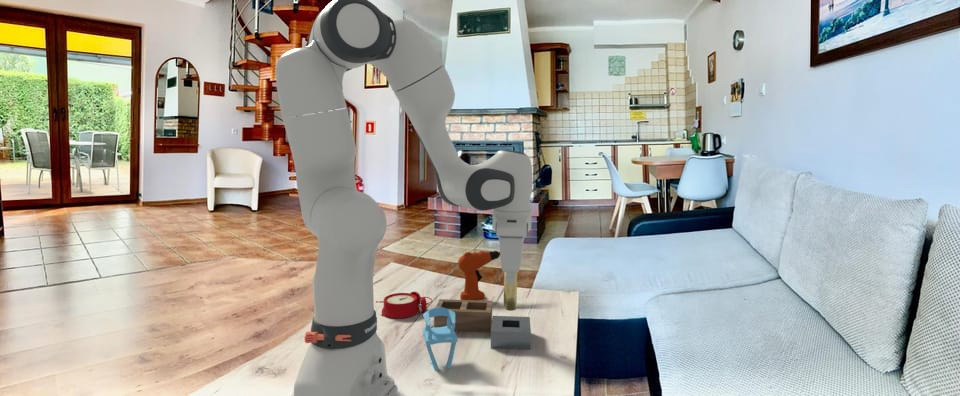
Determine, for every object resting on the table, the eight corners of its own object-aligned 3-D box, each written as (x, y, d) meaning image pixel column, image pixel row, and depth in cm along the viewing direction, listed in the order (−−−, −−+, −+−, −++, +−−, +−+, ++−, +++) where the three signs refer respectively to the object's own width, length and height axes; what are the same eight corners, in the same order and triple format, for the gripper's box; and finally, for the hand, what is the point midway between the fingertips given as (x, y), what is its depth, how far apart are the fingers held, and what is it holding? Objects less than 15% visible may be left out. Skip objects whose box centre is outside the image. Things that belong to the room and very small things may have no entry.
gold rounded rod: (516, 310, 103) (517, 268, 102) (503, 310, 103) (504, 268, 102) (516, 306, 106) (517, 264, 105) (503, 305, 106) (504, 264, 105)
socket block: (530, 353, 101) (530, 332, 101) (490, 352, 102) (490, 331, 101) (529, 336, 110) (529, 316, 109) (492, 335, 111) (492, 315, 110)
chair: (424, 376, 91) (423, 320, 90) (420, 357, 99) (419, 305, 98) (461, 372, 93) (461, 317, 92) (454, 353, 101) (454, 302, 100)
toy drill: (519, 289, 140) (514, 243, 137) (464, 305, 133) (458, 257, 130) (512, 284, 145) (507, 239, 142) (458, 300, 137) (452, 253, 134)
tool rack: (490, 335, 110) (490, 312, 110) (434, 333, 111) (433, 310, 111) (492, 322, 118) (492, 300, 117) (439, 320, 119) (439, 299, 119)
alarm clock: (372, 298, 127) (420, 278, 134) (377, 317, 128) (424, 297, 135) (384, 310, 118) (435, 288, 125) (390, 331, 119) (439, 308, 126)
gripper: (499, 214, 113) (498, 267, 114) (496, 229, 92) (494, 294, 94) (524, 214, 112) (523, 268, 114) (526, 230, 92) (525, 295, 94)
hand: (510, 280), depth 104 cm, fingers closed on gold rounded rod, 3 cm apart
